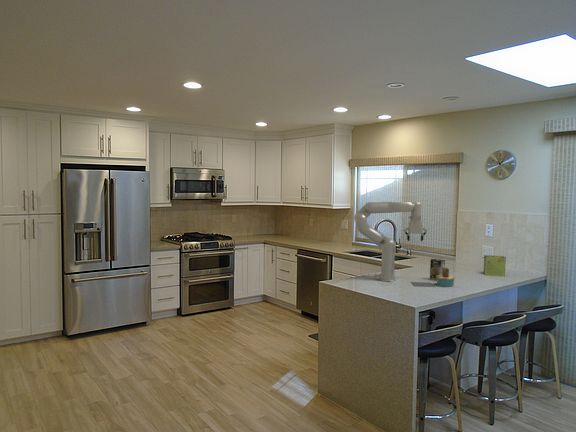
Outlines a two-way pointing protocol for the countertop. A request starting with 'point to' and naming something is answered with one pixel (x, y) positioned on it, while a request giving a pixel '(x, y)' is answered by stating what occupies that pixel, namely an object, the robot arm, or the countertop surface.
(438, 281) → the bowl
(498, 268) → the protein box
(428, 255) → the countertop surface
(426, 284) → the mat
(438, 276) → the lid
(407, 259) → the countertop surface
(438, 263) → the coffee box
